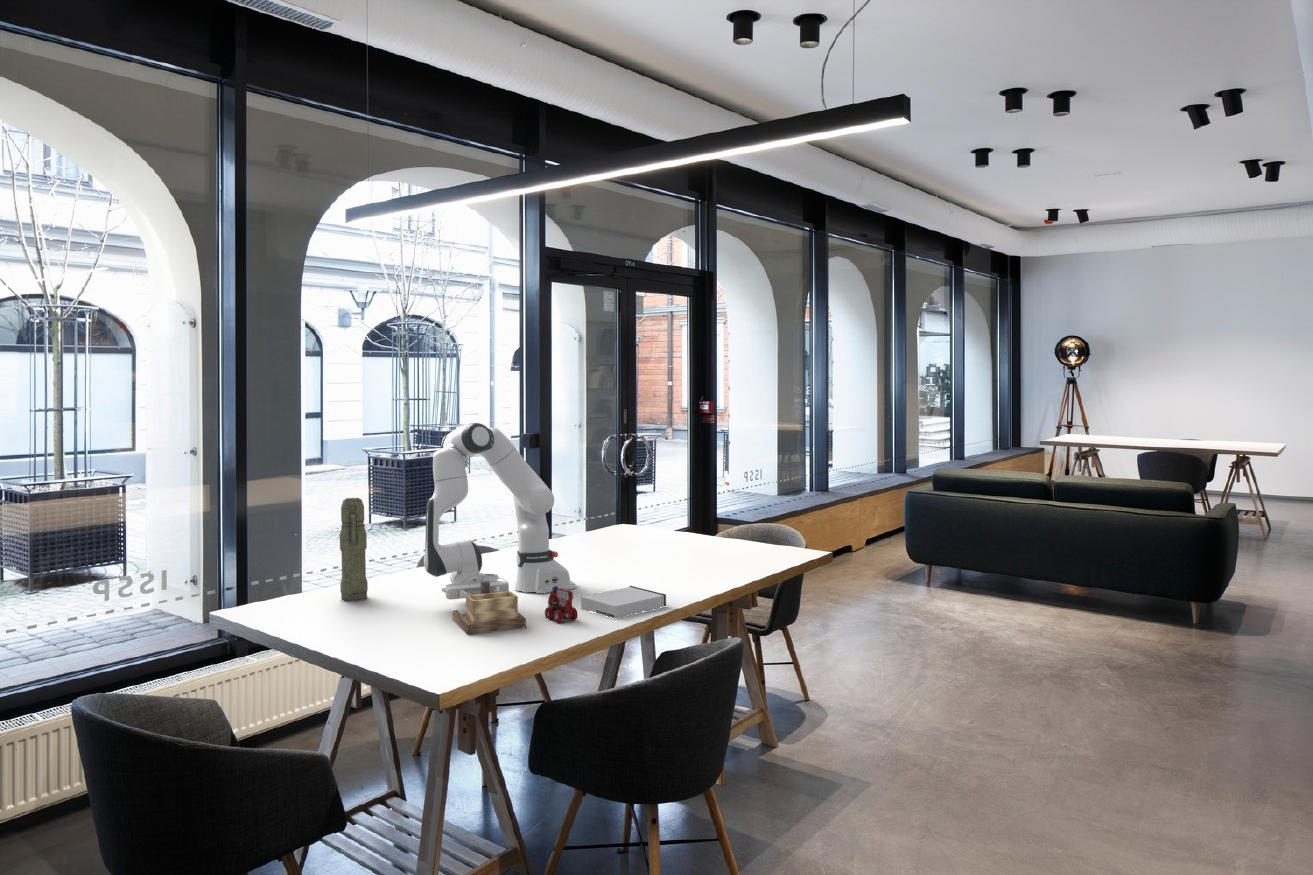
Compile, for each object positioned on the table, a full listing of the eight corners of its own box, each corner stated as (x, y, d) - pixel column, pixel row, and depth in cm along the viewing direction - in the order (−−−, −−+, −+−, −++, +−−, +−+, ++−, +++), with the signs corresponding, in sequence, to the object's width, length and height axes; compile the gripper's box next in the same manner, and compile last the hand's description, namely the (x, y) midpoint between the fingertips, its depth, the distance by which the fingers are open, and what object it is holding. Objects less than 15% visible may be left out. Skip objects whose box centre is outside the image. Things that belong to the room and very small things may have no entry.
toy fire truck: (559, 614, 292) (559, 582, 291) (580, 622, 282) (580, 589, 281) (541, 617, 287) (540, 585, 287) (562, 625, 278) (561, 592, 277)
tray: (507, 613, 292) (507, 604, 292) (525, 627, 275) (525, 617, 275) (452, 619, 284) (452, 610, 284) (467, 634, 267) (467, 624, 267)
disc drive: (666, 608, 301) (666, 594, 300) (615, 620, 285) (615, 605, 285) (631, 599, 313) (631, 585, 313) (580, 610, 298) (580, 595, 297)
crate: (505, 612, 287) (505, 578, 286) (517, 622, 275) (517, 586, 275) (462, 617, 281) (461, 582, 280) (472, 627, 269) (472, 591, 269)
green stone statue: (343, 603, 305) (341, 501, 303) (338, 596, 316) (336, 497, 314) (370, 600, 309) (368, 499, 307) (364, 593, 320) (362, 496, 318)
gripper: (440, 579, 292) (449, 587, 279) (501, 573, 301) (513, 581, 288) (440, 598, 292) (450, 607, 280) (501, 592, 301) (513, 601, 288)
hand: (482, 594), depth 284 cm, fingers open, 8 cm apart
